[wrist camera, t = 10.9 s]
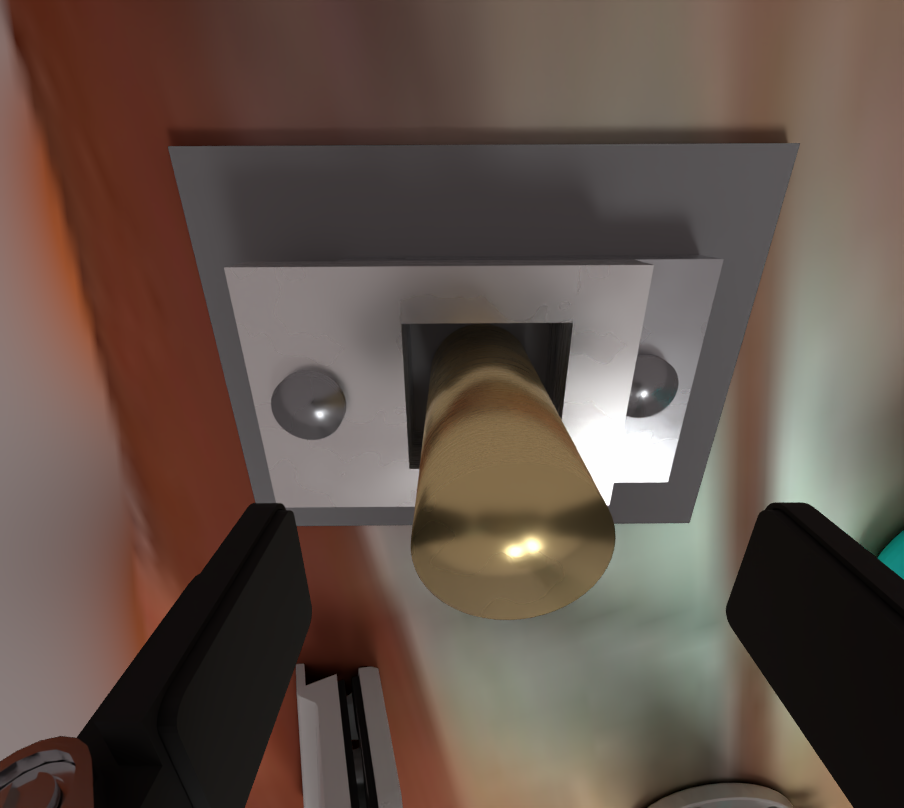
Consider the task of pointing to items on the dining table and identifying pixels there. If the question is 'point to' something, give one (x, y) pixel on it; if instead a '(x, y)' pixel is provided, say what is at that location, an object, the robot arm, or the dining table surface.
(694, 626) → the dining table surface
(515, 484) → the brass pin
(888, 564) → the donuts
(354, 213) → the mat
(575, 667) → the dining table surface
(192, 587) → the robot arm
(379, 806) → the white slotted device
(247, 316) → the grey block with hole
